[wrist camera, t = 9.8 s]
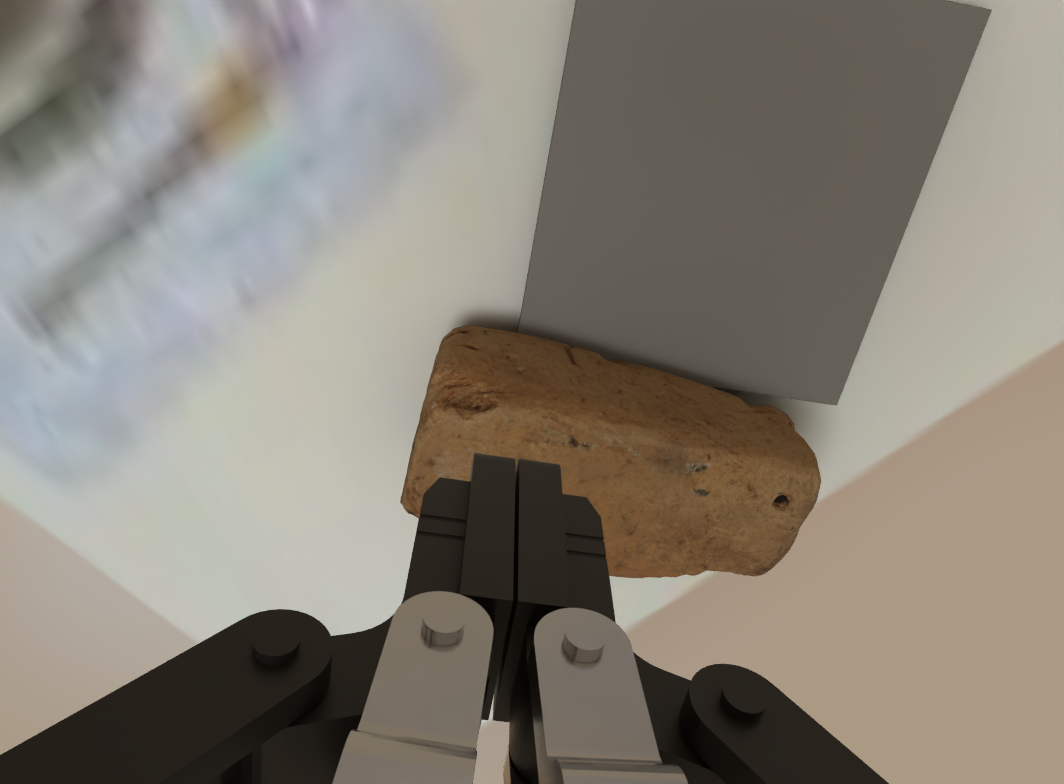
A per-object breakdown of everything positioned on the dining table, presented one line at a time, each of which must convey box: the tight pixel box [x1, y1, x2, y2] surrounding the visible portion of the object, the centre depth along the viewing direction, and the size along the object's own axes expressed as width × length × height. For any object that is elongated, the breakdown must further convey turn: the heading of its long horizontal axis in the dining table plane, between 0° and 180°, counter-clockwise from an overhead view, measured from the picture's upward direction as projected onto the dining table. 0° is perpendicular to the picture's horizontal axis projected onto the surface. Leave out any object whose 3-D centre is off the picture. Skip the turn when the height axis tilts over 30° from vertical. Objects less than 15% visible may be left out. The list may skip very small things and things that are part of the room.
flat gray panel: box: [517, 0, 991, 405], centre depth 39 cm, size 20×18×1 cm
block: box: [400, 326, 821, 578], centre depth 42 cm, size 11×8×20 cm
